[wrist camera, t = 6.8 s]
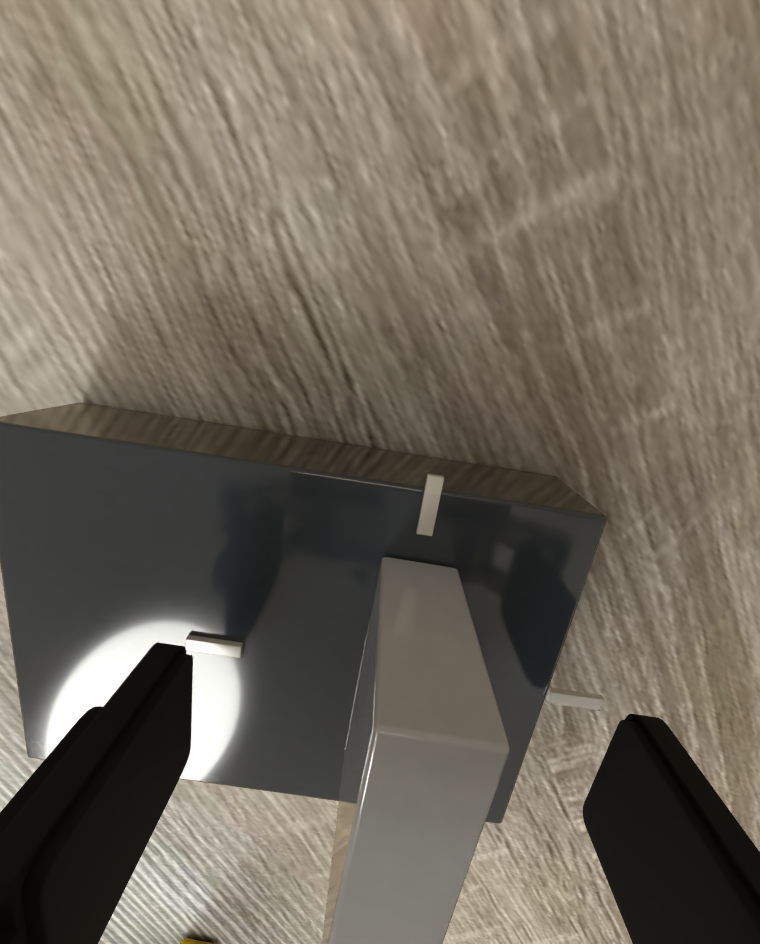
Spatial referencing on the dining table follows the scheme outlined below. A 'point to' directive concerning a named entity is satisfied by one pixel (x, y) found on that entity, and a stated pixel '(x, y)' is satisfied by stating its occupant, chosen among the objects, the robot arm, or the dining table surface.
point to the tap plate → (266, 579)
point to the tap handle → (413, 764)
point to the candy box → (193, 942)
